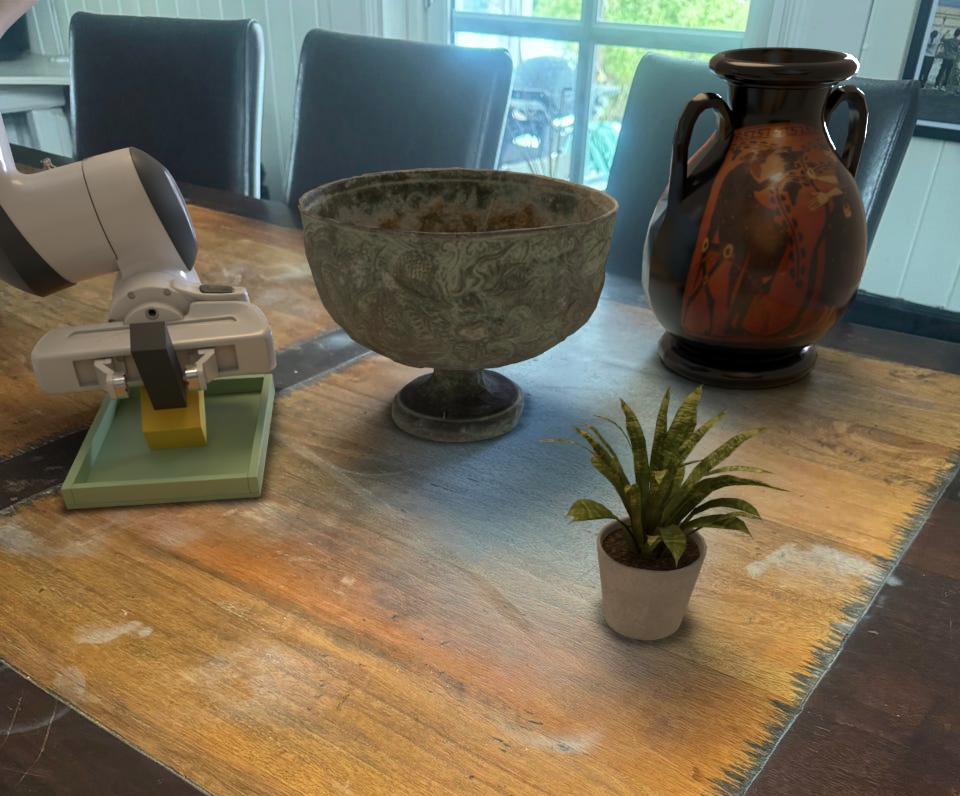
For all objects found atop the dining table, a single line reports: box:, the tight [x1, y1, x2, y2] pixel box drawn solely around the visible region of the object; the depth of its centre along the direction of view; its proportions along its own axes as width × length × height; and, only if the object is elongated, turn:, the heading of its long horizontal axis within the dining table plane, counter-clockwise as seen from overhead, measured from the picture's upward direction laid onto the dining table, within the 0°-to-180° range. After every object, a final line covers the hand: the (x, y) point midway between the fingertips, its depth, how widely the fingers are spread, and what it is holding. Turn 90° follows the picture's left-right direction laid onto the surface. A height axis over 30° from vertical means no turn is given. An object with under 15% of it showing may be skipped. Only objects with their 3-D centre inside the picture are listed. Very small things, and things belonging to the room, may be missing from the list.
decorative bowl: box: [297, 166, 620, 443], centre depth 85 cm, size 26×26×20 cm
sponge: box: [129, 321, 207, 451], centre depth 80 cm, size 5×7×11 cm
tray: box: [60, 373, 276, 510], centre depth 85 cm, size 16×22×2 cm
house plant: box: [535, 383, 795, 641], centre depth 59 cm, size 14×14×16 cm
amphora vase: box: [640, 46, 870, 390], centre depth 91 cm, size 22×22×28 cm
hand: (157, 386), depth 77 cm, fingers open, 5 cm apart
